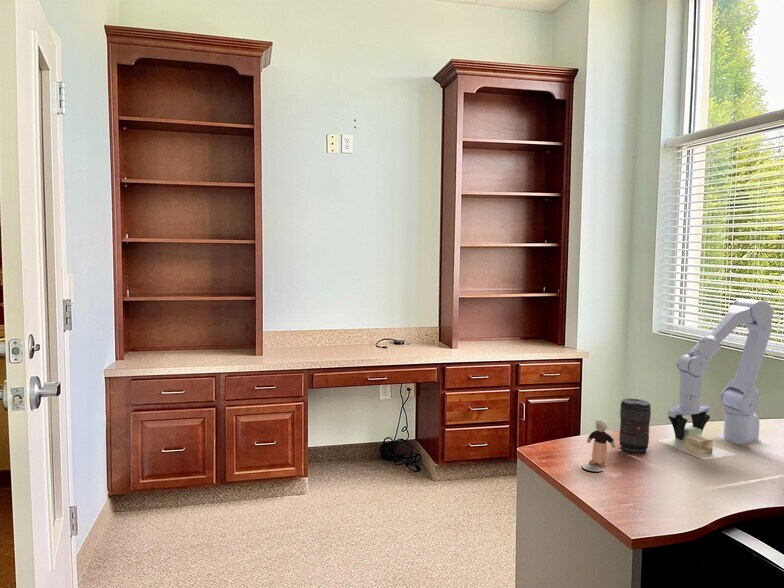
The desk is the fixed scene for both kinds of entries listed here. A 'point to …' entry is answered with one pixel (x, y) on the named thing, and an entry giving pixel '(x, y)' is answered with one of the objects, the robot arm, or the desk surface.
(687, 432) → the sage block
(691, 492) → the desk surface
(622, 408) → the camera lens
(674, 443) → the plate
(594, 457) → the grandmother figurine
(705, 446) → the beech block
